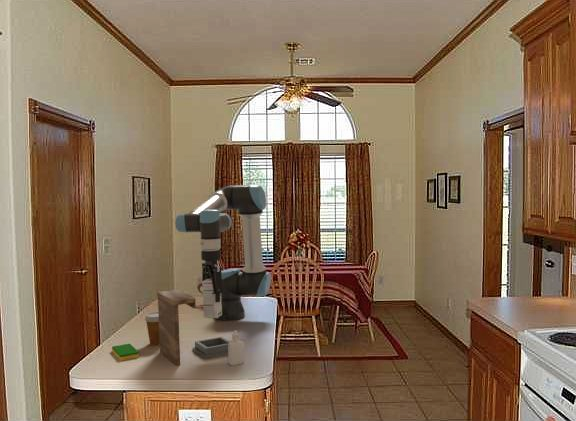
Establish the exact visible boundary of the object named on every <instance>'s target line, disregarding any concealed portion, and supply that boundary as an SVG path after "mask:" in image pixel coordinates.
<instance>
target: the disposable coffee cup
mask: <svg viewBox="0 0 576 421" xmlns="http://www.w3.org/2000/svg"><path fill="white" fill-rule="evenodd" d="M144 320H145V322H146V329H147V333H148V340H149V344H150V345H151V346H160V341H159V314H158V311H155V312H150V313H147V314H145V317H144Z"/></svg>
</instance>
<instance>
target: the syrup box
mask: <svg viewBox="0 0 576 421" xmlns="http://www.w3.org/2000/svg"><path fill="white" fill-rule="evenodd" d="M201 282H202V286H201V287H202V292H203V294H202V306H203V318H205V319H206V318H207V319H215V318H218V317H219V316H221V315H222V295H221V293H220V301H221V310H217V311H213V294H212V293H213V292H214V290H213V285H212V279H211V278H210V279H206V280H204V281H202V280H201Z"/></svg>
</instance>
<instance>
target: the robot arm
mask: <svg viewBox="0 0 576 421" xmlns="http://www.w3.org/2000/svg"><path fill="white" fill-rule="evenodd" d="M266 208H267V197H266V192H265V190H264V188H263V187H262V186H261V185H259V184H239V185H237V184H236V185H227V186H224V187H220V188H218V189H216V190H215V191H214V192H212V193H211V194H210V195H209V196H208V198H207V199H206V200H205V201H203V202H202V203H201V204H200V205H198V206H197V207H195V208H194V209H193V210H191V211H190V212H188V213H180V214H177V216H176V217H175V221H174V224H175V229H176V231H177V232H179V233H200V241H199V244H200V248H201V253H200V257H201V258H200V259H201V260H202V261H203V262H202V263H201V269H202V272H201V273H202V274H201V282H202V281H204V280H206V279H210V278H211V279H212V285H213V290H214V292H213V293H212V294H213V311H217V310H221V301H220V293H221V295H222V315H221V316H219V317H218V318H214V319H215V320H222V321H232V320H233V321H235V320H239V319H242V318H244V317H245V316H246V312H245V308H244V305H243V303H242V297H264V296H267V295H268V293H269V291H270V287H271V284H272V280H271V279H272V275H271V273H270V272H269V271H267V267H266V266H265V265H264V261H263V249H262V247H263V245H262V233H261V232H262V231H261V230H262V229H261V215H262V214H263V213H264V210H265V209H266ZM232 210H233V211H237V214H238V215H239V216H240V218H241V227H242V240H243V253H244V266H243V268H242V271H241V269H240V268H237V267H236V268H228V269H224V270H222V266H221V265H219V264H218V261H220V260H221V259H222V252H221V251H222V250H221V248H222V245H221V243H222V242H221V239H222V238H221V233H224V232H226V231H228V230H229V229H230V228H231V227H232V218H231V216H230V215H229V214H228V213H224V212H223V211H232Z"/></svg>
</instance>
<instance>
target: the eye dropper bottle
mask: <svg viewBox="0 0 576 421" xmlns="http://www.w3.org/2000/svg"><path fill="white" fill-rule="evenodd" d="M231 339H232V340H231V341H230V343H229V344H228V354H227V355H228V359H227V360H228V365H230V366H238V365H241V364H244V363H245V348H244V347H245V346H244V344H245V343H244V341H243V340H240V333H238V332H237V330H234V331H233V333H232V335H231Z"/></svg>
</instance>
